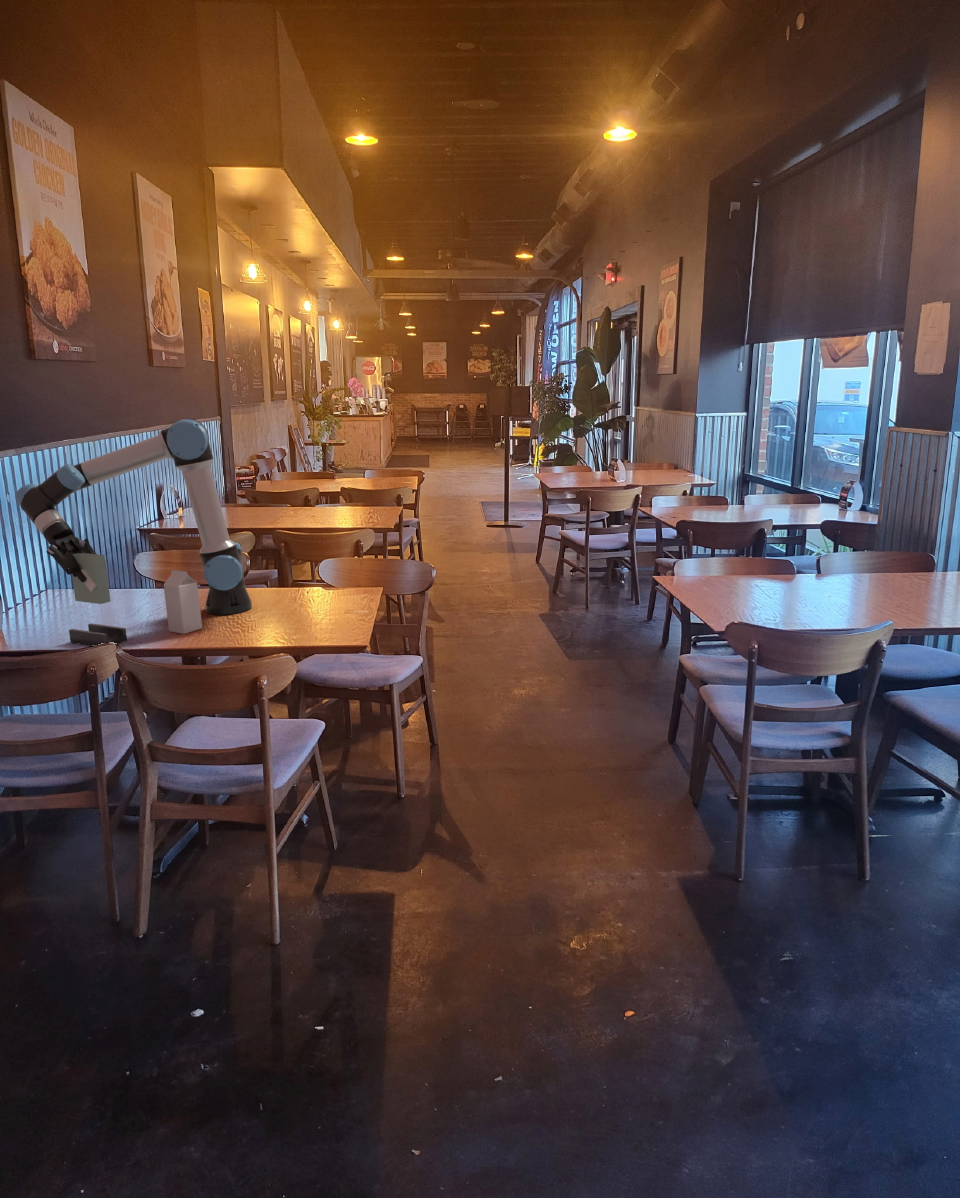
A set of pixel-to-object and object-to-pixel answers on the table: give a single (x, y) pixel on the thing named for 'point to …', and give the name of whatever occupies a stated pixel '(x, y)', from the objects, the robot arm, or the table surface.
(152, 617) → the table surface
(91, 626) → the bottom track
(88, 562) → the door panel
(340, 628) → the table surface
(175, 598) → the milk carton
